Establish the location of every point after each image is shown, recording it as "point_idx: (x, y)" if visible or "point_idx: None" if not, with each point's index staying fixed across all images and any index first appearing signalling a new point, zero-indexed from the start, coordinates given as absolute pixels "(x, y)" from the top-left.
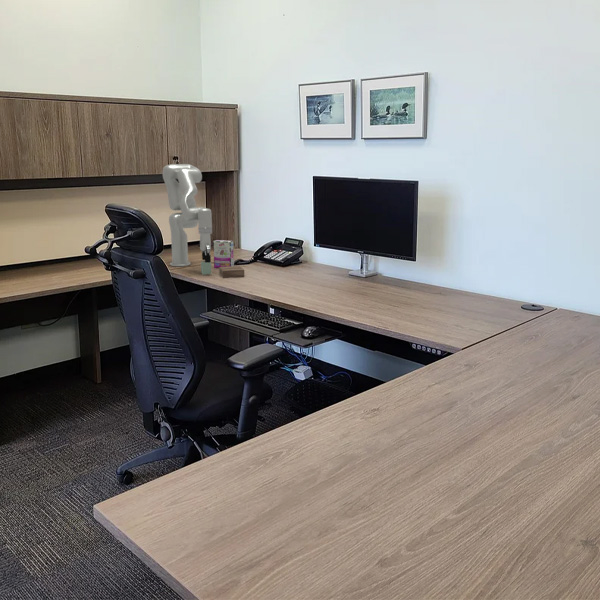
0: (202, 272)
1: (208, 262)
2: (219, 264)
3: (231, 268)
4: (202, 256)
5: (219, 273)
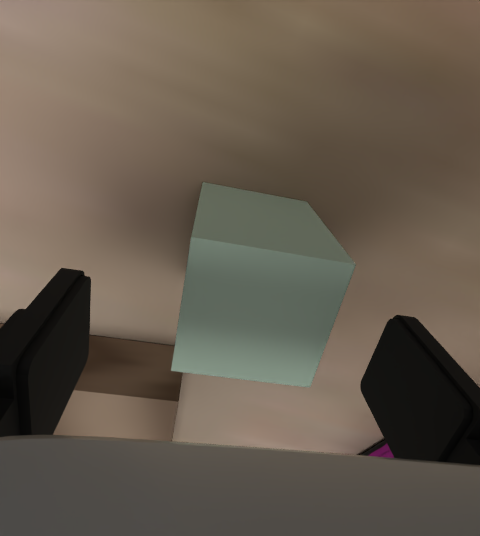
0: (204, 189)
1: (177, 336)
2: None
3: None
4: (430, 355)
5: (163, 349)
